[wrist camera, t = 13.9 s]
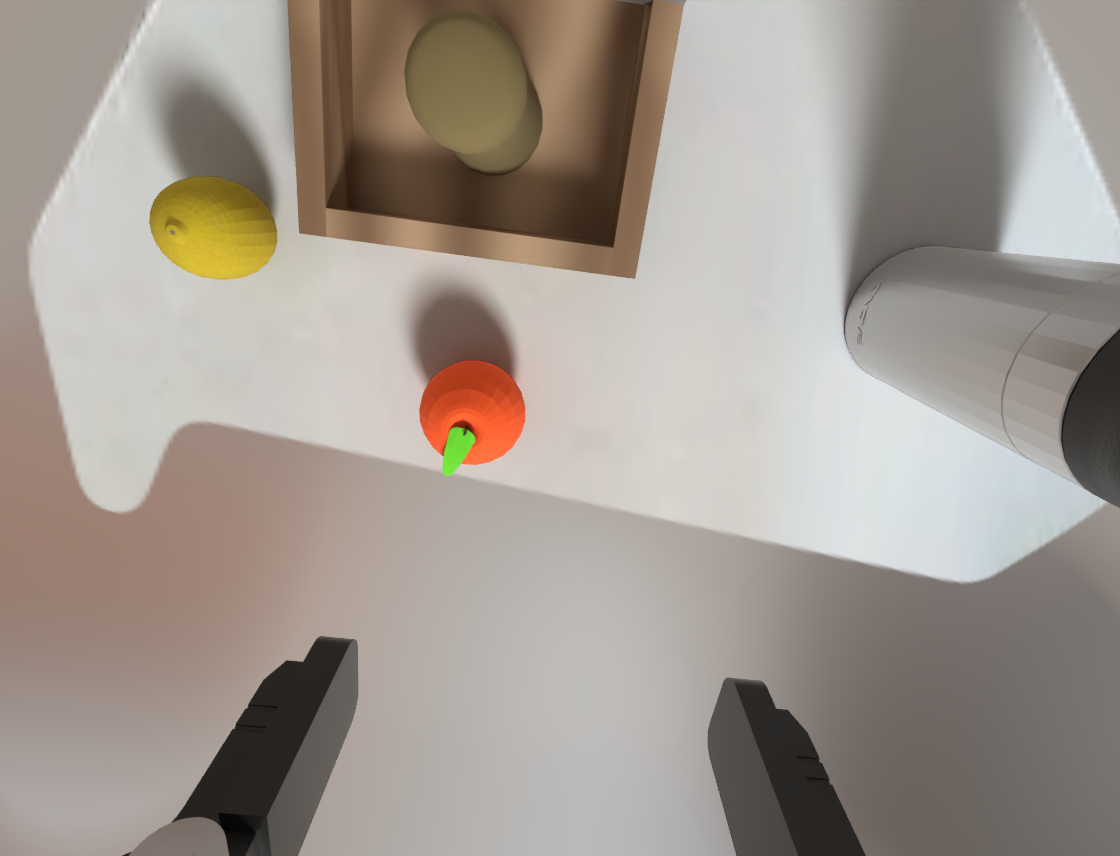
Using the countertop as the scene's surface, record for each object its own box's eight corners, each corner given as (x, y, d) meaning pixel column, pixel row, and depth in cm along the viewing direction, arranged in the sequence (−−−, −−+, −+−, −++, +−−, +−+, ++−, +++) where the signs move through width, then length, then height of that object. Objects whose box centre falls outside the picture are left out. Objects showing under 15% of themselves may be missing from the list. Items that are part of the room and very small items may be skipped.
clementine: (501, 464, 41) (489, 514, 34) (414, 429, 40) (385, 473, 33) (543, 373, 38) (540, 407, 32) (452, 332, 37) (428, 359, 30)
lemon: (208, 255, 35) (113, 268, 28) (215, 166, 33) (116, 154, 26) (292, 283, 36) (223, 302, 28) (305, 197, 34) (233, 194, 26)
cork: (535, 183, 33) (524, 172, 23) (437, 166, 33) (381, 147, 22) (550, 69, 31) (545, 0, 21) (444, 49, 30) (386, -32, 20)
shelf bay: (670, 5, 30) (692, -37, 25) (625, 269, 35) (636, 279, 30) (326, -51, 29) (277, -105, 24) (334, 230, 34) (295, 233, 29)
